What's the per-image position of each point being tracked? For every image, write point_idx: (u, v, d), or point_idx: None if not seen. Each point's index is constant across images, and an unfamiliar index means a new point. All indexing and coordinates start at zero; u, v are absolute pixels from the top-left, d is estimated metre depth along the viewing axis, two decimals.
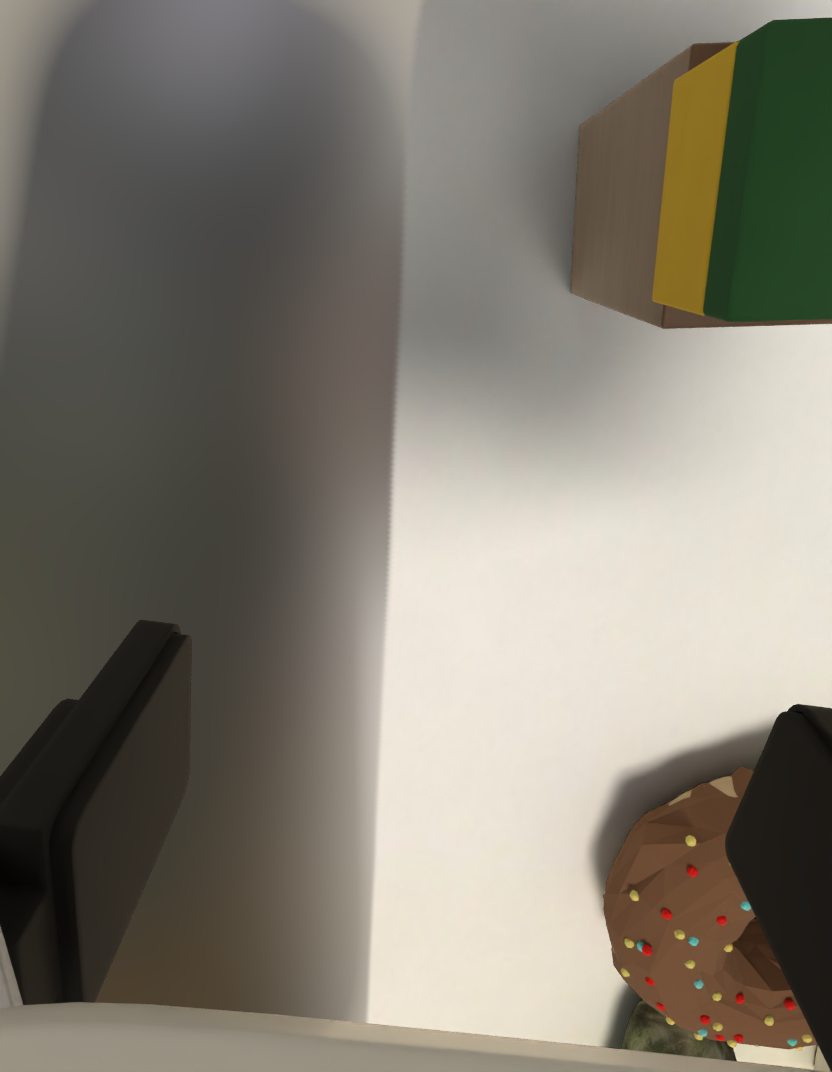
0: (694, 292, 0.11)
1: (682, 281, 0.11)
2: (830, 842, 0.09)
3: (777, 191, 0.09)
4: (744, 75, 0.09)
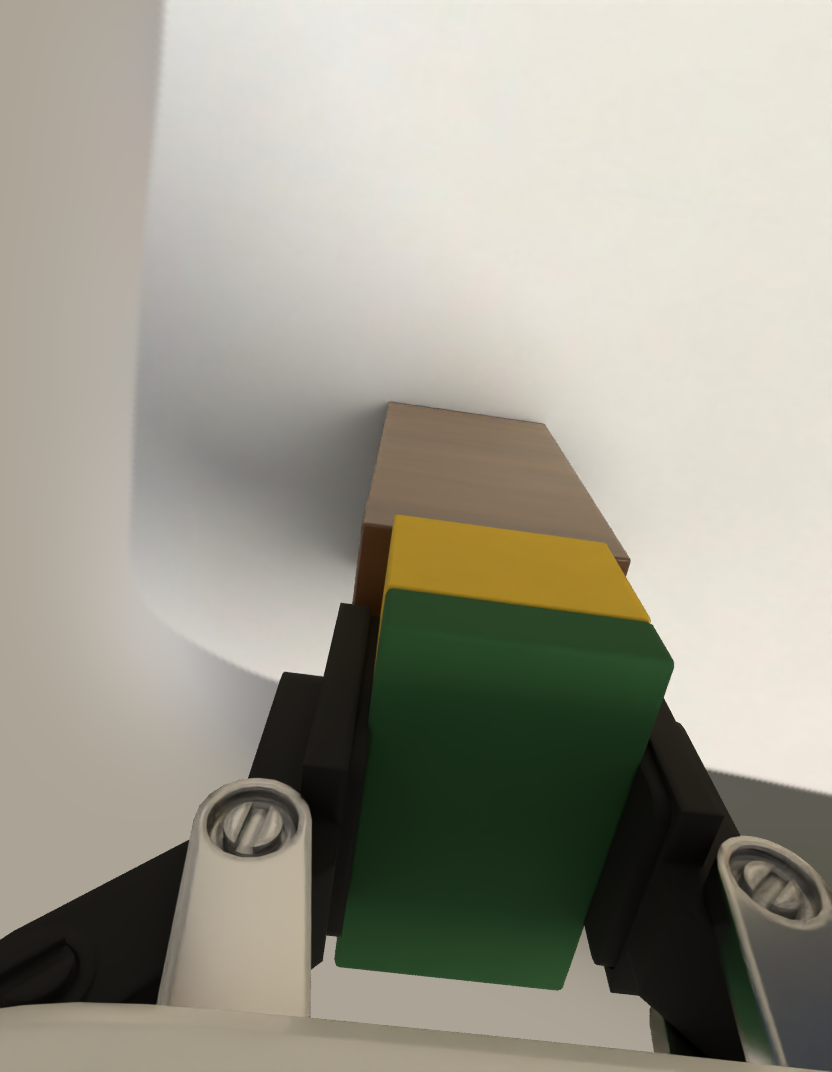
0: None
1: None
2: None
3: (461, 963, 0.10)
4: None
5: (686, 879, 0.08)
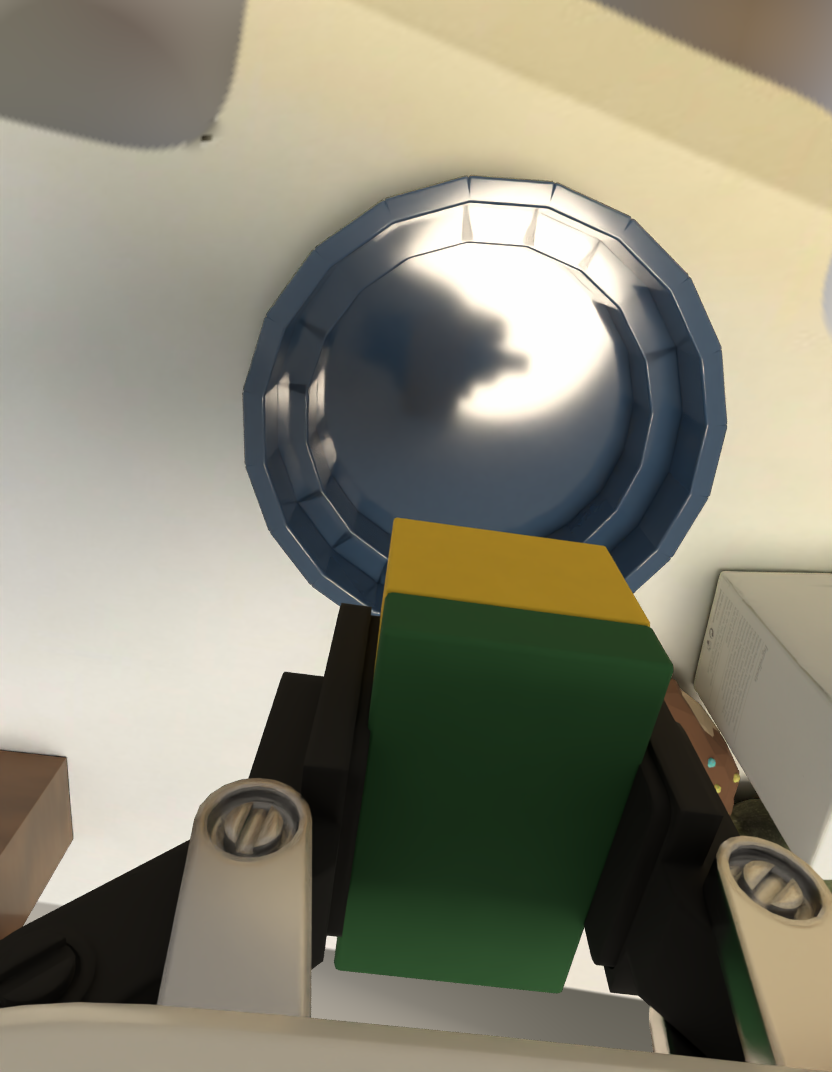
0: None
1: None
2: None
3: (460, 966, 0.10)
4: None
5: (686, 880, 0.08)
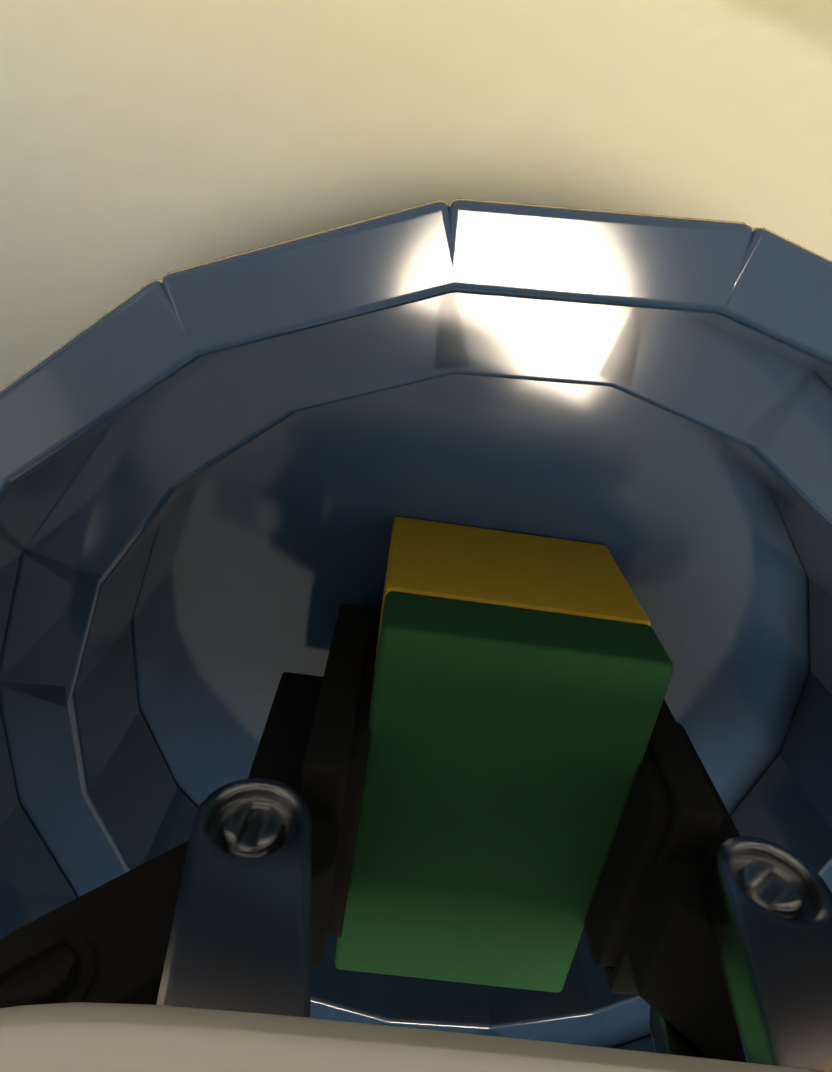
0: None
1: None
2: None
3: (460, 965, 0.10)
4: None
5: (687, 880, 0.08)
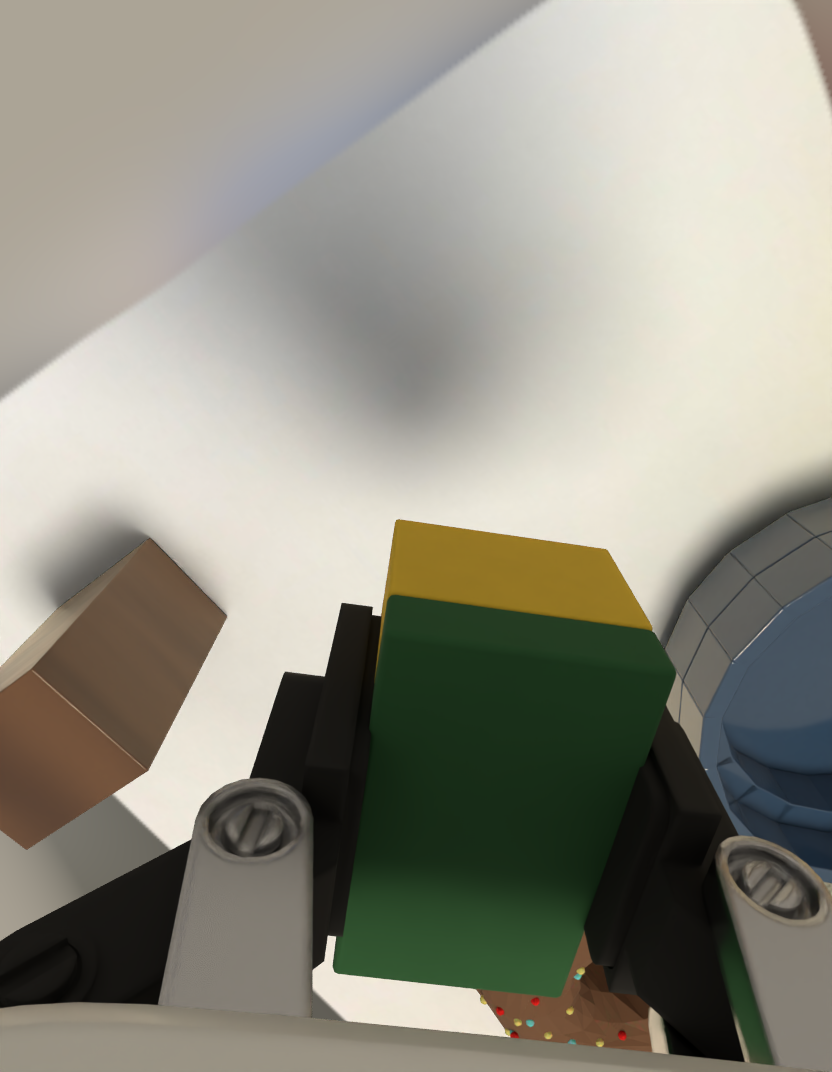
0: None
1: None
2: None
3: (459, 970, 0.10)
4: None
5: (685, 880, 0.08)
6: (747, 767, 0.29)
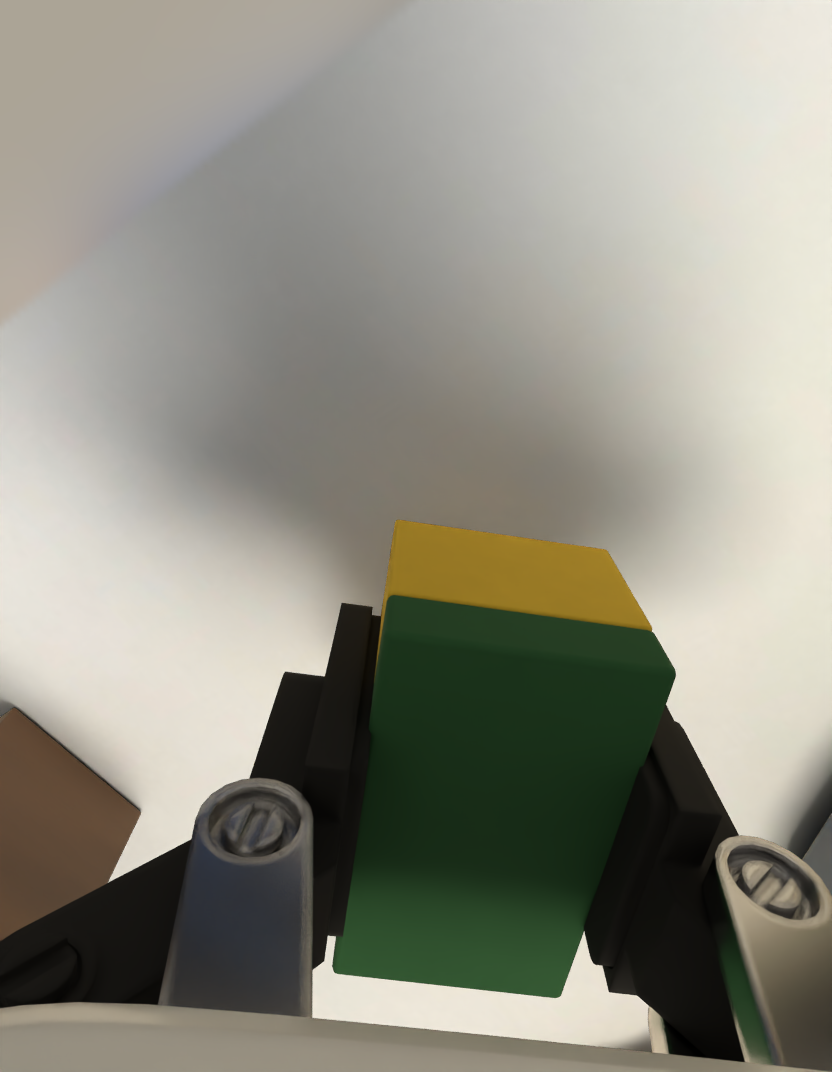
0: None
1: None
2: None
3: (459, 970, 0.10)
4: None
5: (685, 880, 0.08)
6: None
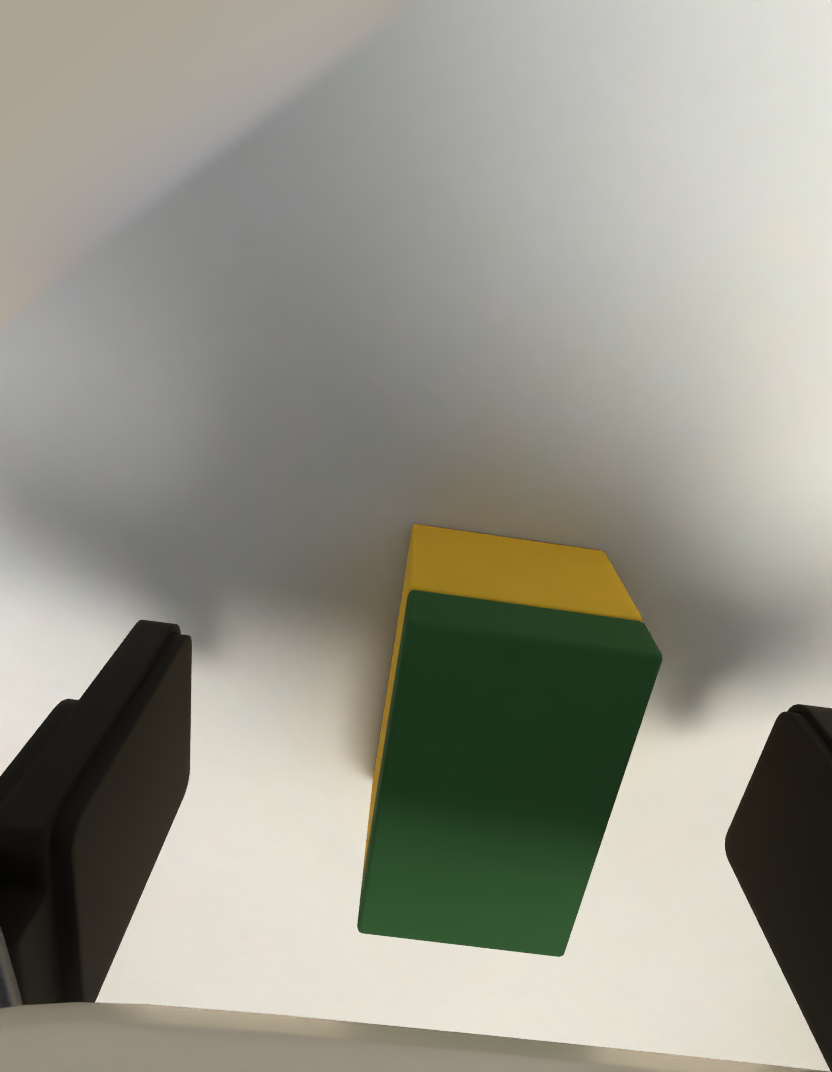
0: None
1: None
2: (830, 842, 0.09)
3: (472, 930, 0.11)
4: None
5: None
6: None
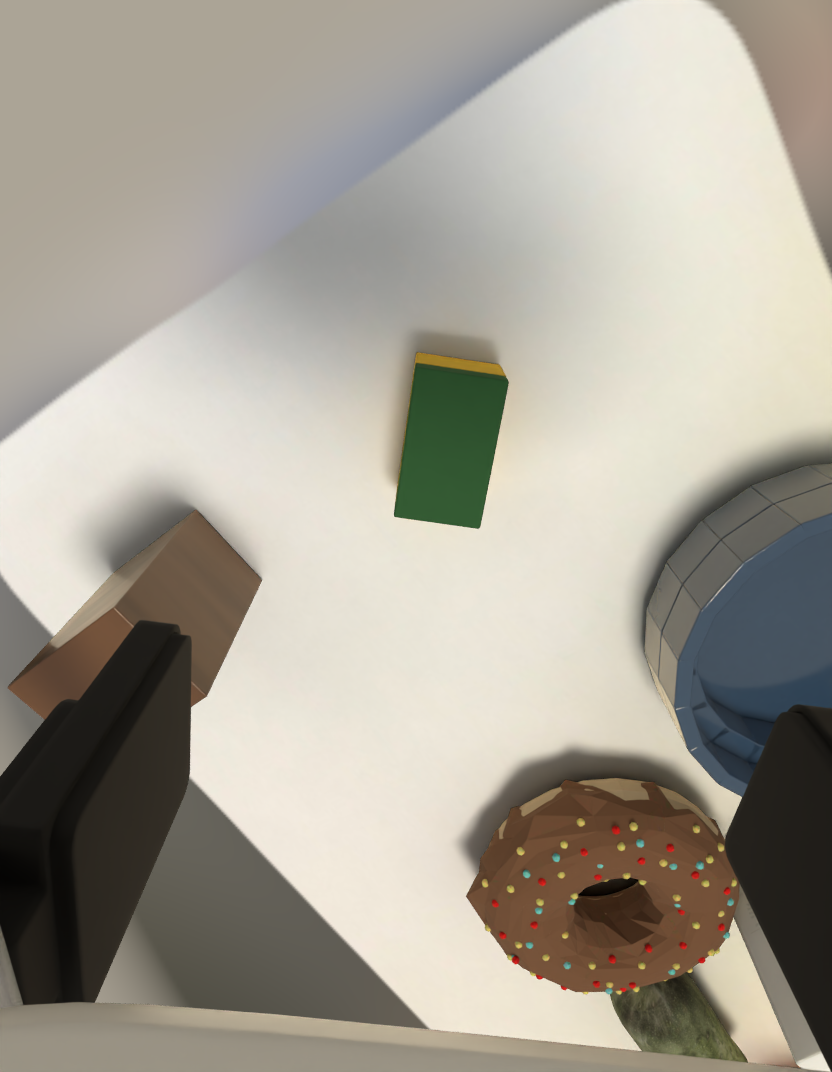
0: None
1: None
2: (830, 842, 0.09)
3: (441, 514, 0.27)
4: None
5: None
6: (721, 713, 0.33)
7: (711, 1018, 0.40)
